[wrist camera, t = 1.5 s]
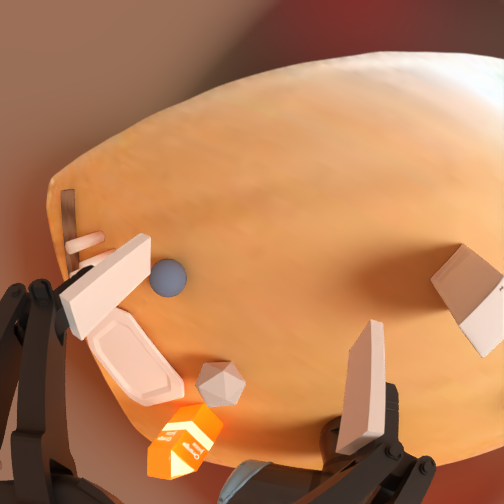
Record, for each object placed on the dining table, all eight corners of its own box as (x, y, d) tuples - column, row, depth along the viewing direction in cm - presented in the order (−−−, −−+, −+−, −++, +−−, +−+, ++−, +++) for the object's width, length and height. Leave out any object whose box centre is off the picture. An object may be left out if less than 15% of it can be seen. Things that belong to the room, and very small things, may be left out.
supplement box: (427, 279, 33) (456, 325, 21) (463, 241, 29) (505, 273, 18) (453, 310, 32) (482, 361, 21) (486, 276, 29) (526, 316, 18)
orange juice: (224, 424, 54) (185, 490, 36) (199, 427, 58) (159, 485, 40) (203, 402, 54) (156, 468, 35) (179, 406, 57) (133, 463, 39)
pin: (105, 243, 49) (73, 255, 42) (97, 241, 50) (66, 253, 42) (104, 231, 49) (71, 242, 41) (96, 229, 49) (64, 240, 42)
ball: (193, 292, 45) (173, 308, 40) (163, 283, 47) (143, 297, 41) (193, 258, 43) (172, 271, 38) (163, 251, 45) (140, 262, 40)
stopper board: (83, 291, 57) (76, 295, 54) (78, 289, 57) (71, 293, 55) (74, 189, 49) (65, 191, 47) (69, 189, 49) (60, 190, 47)
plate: (86, 332, 62) (80, 336, 60) (125, 294, 52) (118, 299, 50) (143, 404, 63) (138, 408, 61) (198, 388, 53) (194, 394, 51)
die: (203, 348, 49) (179, 392, 44) (225, 352, 42) (198, 404, 38) (236, 367, 52) (215, 409, 47) (261, 373, 45) (238, 421, 40)
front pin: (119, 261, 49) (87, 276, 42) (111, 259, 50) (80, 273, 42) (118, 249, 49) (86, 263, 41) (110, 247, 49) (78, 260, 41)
